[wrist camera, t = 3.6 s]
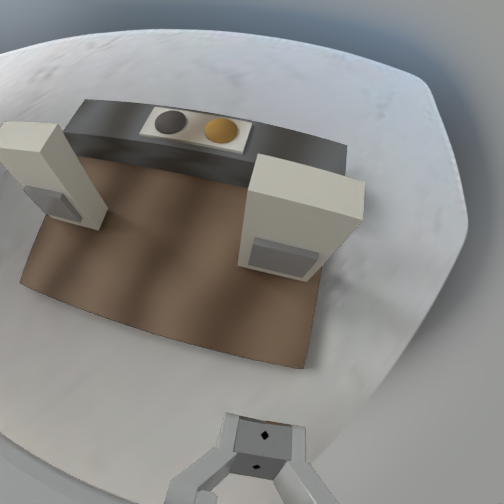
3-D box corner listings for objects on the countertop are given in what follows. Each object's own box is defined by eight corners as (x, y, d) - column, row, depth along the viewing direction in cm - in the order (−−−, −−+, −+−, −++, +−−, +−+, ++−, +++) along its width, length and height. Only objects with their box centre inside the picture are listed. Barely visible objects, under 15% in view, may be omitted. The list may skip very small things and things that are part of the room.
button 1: (236, 270, 22) (245, 198, 13) (244, 240, 23) (258, 153, 13) (305, 287, 22) (362, 228, 13) (311, 256, 23) (365, 182, 13)
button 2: (49, 222, 22) (-16, 152, 13) (61, 197, 23) (4, 121, 13) (96, 235, 22) (35, 158, 13) (108, 208, 23) (58, 123, 13)
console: (28, 287, 22) (-9, 267, 17) (106, 123, 28) (91, 85, 23) (298, 368, 22) (320, 369, 17) (330, 166, 28) (349, 128, 23)
